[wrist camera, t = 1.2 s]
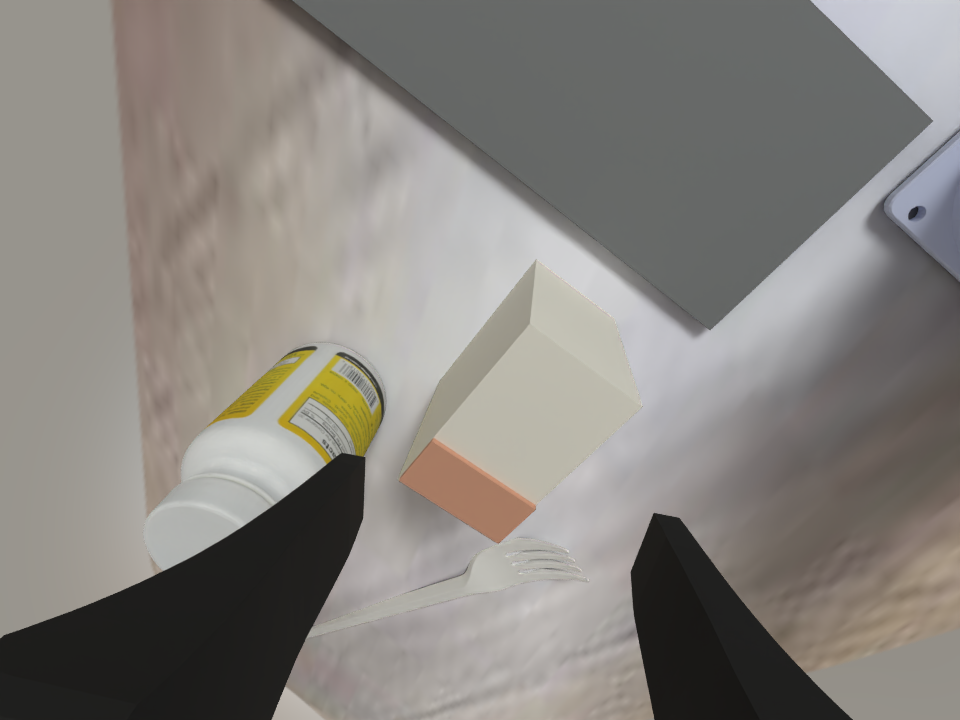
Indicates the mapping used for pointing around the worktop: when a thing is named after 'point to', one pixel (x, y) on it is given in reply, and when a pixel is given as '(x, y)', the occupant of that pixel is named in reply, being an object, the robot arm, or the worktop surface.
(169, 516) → the supplement bottle
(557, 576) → the fork
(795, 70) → the rubber mat
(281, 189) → the worktop surface
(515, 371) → the card box
